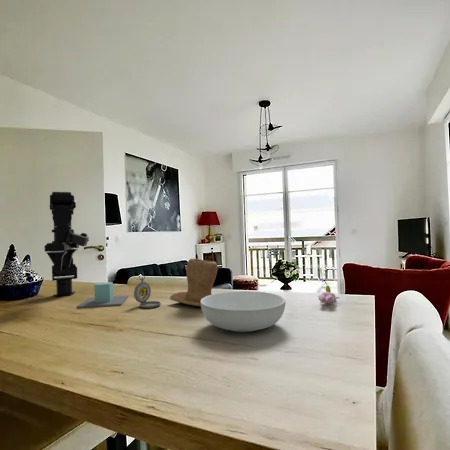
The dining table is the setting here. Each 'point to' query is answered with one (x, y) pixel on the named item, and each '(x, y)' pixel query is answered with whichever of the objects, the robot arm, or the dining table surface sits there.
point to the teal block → (103, 292)
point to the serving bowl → (243, 310)
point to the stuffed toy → (327, 296)
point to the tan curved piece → (197, 282)
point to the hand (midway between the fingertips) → (63, 269)
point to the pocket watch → (141, 289)
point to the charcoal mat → (114, 302)
